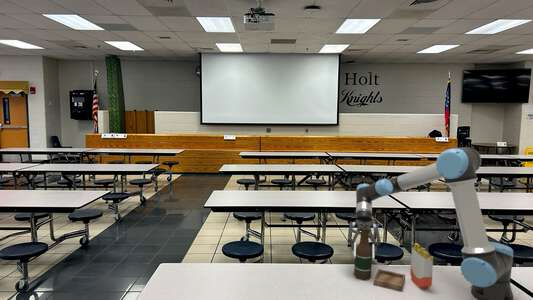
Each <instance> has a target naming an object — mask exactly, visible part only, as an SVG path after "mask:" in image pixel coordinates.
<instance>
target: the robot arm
mask: <svg viewBox="0 0 533 300" xmlns="http://www.w3.org/2000/svg"><path fill="white" fill-rule="evenodd" d="M481 165H482V157H481V154H480V153H479V152H478V151H477V150H476V149H474V148H472V147H469V146H468V147H467V146H463V147H454V148H449V149H446V150H443V151H442V152H440V154H439V155H438V157H437V158H436V161H435V162H433V163H432V164H429V165H426V166H422V167H420V168H417V169H415V170H413V171H412V170H411V171H409V172H406V173H404V174H400V175H398V176H395V177H392V178H390V179H387V178H383V179H379V180H377V181H376V182H373V183H372V184H368V183H359V184H358V185H357V187H356V193H355V195H356V199H355V200H356V202H355V203H356V206H355V208H356V209H355V210H356V211H355V213H356V214H355V221H349V231H348V236H347V242H348V243H350V245H351V247H350V248H351V251H353V259H355V257H356V247H357V242H356V241H357V238H358V237H359V234H361V227H362V226H367V227H369V238H370V240H371V243H372V246H371V249H372V261H375V253H377V252H378V251H377V250H378V246H381V236H380V230H379V227H380V225H379V224H378V223H376V224H375V223H374V222H373V201H376V200H377V199H379V198H384V197H387V196H390V195H394V194H399V193H401V192H404V191H407V190H409V189H412V188H417V187H419V186H423V185H425V184H427V183H431V182H434V181H439V180H441V179H443V180H444V183H445V185H447V186H448V187H450V191H451V195H452V200H453V203H454V207H455V212H456V217H457V220H458V224H459V230H460V233H461V237H462V240H463V245H464V246H463V247H462V249H461V255H462V259H463V261H462V262H461V264H460V272H461V275H462V276H463V277H464V279H465V280H466V281H467V282H469V283H470V284H471V286H470V293H471V295H472V296H473V297H474V298H476V299H477V300H514V294H513V290H512V286H511V277H512V268H513V258H514V250H513V249H512V247H510V246H508V245H506V244H502V243H499V242H494V241H489V239H488V234H487V229H486V227H485V222H484V219H483V218H484V217H483V214H482V210H481V207H480V202H479V199H478V194H477V191H476V186H475V183H476V181H477V180H478V177H477V171H478V170H479V169H480V168H481ZM354 227H356V228H357V229H356V231H355V233H354V235H353V228H354ZM372 228H373V229H374V231H375V232H374V233H375V236H374V234H373V232H372ZM352 235H353V236H352ZM375 238H376V239H375Z"/></svg>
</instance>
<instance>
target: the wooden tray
mask: <svg viewBox="0 0 533 300" xmlns="http://www.w3.org/2000/svg"><path fill="white" fill-rule="evenodd" d="M405 281H406V274H404V273H400V272H394V271H390V270H385V269H382V268H381V269H380V268H377V271H376V273H375V276H374V277H373V283H372V285H373V286H378V287H380V288H385V289H389V290H394V291H397V292H401V293H402V292H403V289H404V285H405Z"/></svg>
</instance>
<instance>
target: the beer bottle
mask: <svg viewBox="0 0 533 300" xmlns="http://www.w3.org/2000/svg"><path fill="white" fill-rule="evenodd" d="M359 238H360V239H359V243H358V244H357V245H356V257H355V258H354V266H353V267H354V268H353V275H354V277H355V278H356V279H358V280H361V281H367V280H370V278H371V277H372V267H373V266H372V264H373V260H372V246H371V245H370V240H369V238H370V236H369V227H367V226H362V227H361V231H360V237H359Z"/></svg>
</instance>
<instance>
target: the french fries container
mask: <svg viewBox="0 0 533 300" xmlns="http://www.w3.org/2000/svg"><path fill="white" fill-rule="evenodd" d="M410 255H411V259H410V269H409V271H410V273H409V274H410V278H411V281H412V283H413V284H414V285H415V286H416V287H417V288H419V289H420V288H421V289H422V288H423V289H425V288H430V287H431V286H433V285H432V284H433V270H434V269H433V268H434V267H433V265H434V256H432V255H431V256H430V253H429V252H428V251H426V248H425V247H421V245H419V243H417V242H416V243H415V242H414V245H413V247H412V248H411V254H410Z"/></svg>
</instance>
